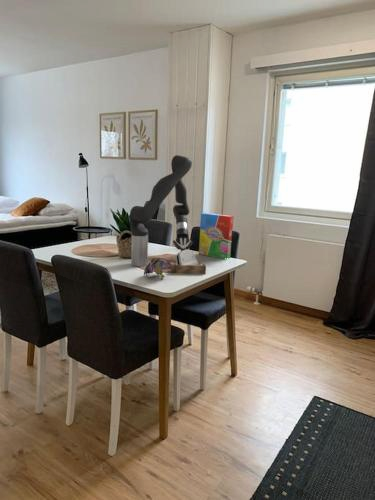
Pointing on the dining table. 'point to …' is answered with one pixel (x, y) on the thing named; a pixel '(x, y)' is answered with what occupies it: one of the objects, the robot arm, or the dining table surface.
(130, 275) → the dining table surface
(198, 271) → the hinge pocket
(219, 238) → the game box
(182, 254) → the grey rounded block
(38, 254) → the dining table surface
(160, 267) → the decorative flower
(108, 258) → the dining table surface
